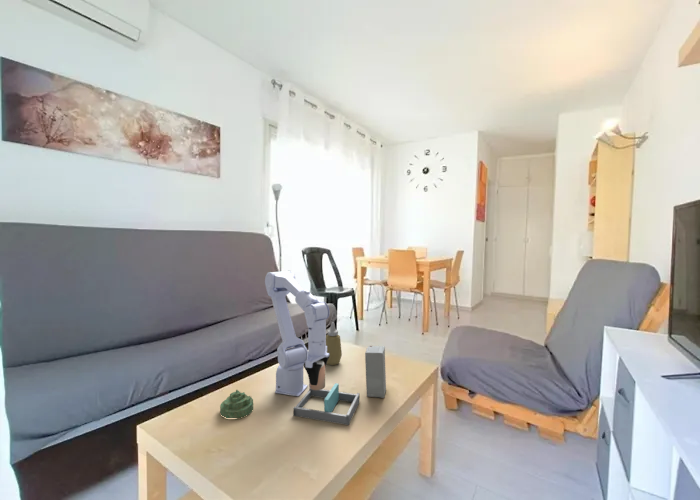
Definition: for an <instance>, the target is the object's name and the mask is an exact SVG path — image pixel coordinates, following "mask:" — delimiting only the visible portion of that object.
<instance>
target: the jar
mask: <svg viewBox="0 0 700 500" xmlns="http://www.w3.org/2000/svg"><path fill="white" fill-rule="evenodd" d="M316 363H317V364H320V365H322V366H321V368H320V371H319V377H318V383H317V385H311V384H310V381H309V380H308V383H309V384H308V387H309V388H310V389H312V390H321V389H325V387H326V367H325V364H324V362H323V361H321V360H318V361H316Z"/></svg>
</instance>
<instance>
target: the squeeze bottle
mask: <svg viewBox="0 0 700 500" xmlns="http://www.w3.org/2000/svg"><path fill="white" fill-rule="evenodd" d="M341 342H342V341H341V336H340V335H339V331H338V329H336V325H335V322H334V321H332V322H331V323H330V328H329V329H328V330H327V334H326V346H327V352H326V353H329V355H330V357H329V359H328V361H327V364H326V365H329V366H335V365H339V364H340V362H341V359H342V355H343V353H342V345H341V344H342V343H341Z"/></svg>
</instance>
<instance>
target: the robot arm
mask: <svg viewBox="0 0 700 500" xmlns="http://www.w3.org/2000/svg"><path fill="white" fill-rule="evenodd" d="M295 275H296V274H295V273H294V272H293V271H292V270H285V271H284V270H283V271H282V270H281V271H272V272H271V271H268V272H266V275H265V278H264V285H265V289H266V290H265V291H266V292H267V296H268V297H270V299H271V301H272V306H273V310H274V313H275V316H276V317H275V318H276V323H277V325H278V329H279V333H280V337H281V340H282V341H281V343H279V345H278V347H277V349H276V352H277V362H278V367H277V368H276V371H275V391H274V393H275V394H279V395H288V396H292V397H300V396H301V395H302V393H304V391H305V390H306V389H307V388H308V387H309V384H305V383H304V370H305V372H306V374H307V377H308V382H309V381H310V384H311V385H317V383H318V377H319V371H320V368H321V366H322V365H320V364H317V363H316V361H318V360H321V361H323V362H324V364H325V368H326V367H327V365H328V364H327V361H328V359H329V357H330V355H329V353H326V352H327V346H326V336H327V333H326V332H327V319H328V318H329V317H330V312H331V311H330V307H329V305H328V303H327V302H326V301H322V300H318V299H317V298H316V297H315V296H314V295H313V294H312V293H311V291H310V290H308V289H303V288H302V286H300V284H299V283H298V281H296V276H295ZM288 294H292V295H293V296H294V299H295V303H296V304H297V305H298V306H299V308H301V309H302V311H303V314H304V318H305V321H306V327H307V328H308V329H307V330H308V331H307V333H308V334H307V337H308V339H307V340H308V341H307V342H308V343H307V345H308V346H306V344H305V342H304V340H302V339H301V338H300V337H297V336H296V332H295V328H294V322H293V320H292V317H291V313H290V309H289V306H288V302H287V298H286V296H287V295H288Z"/></svg>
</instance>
